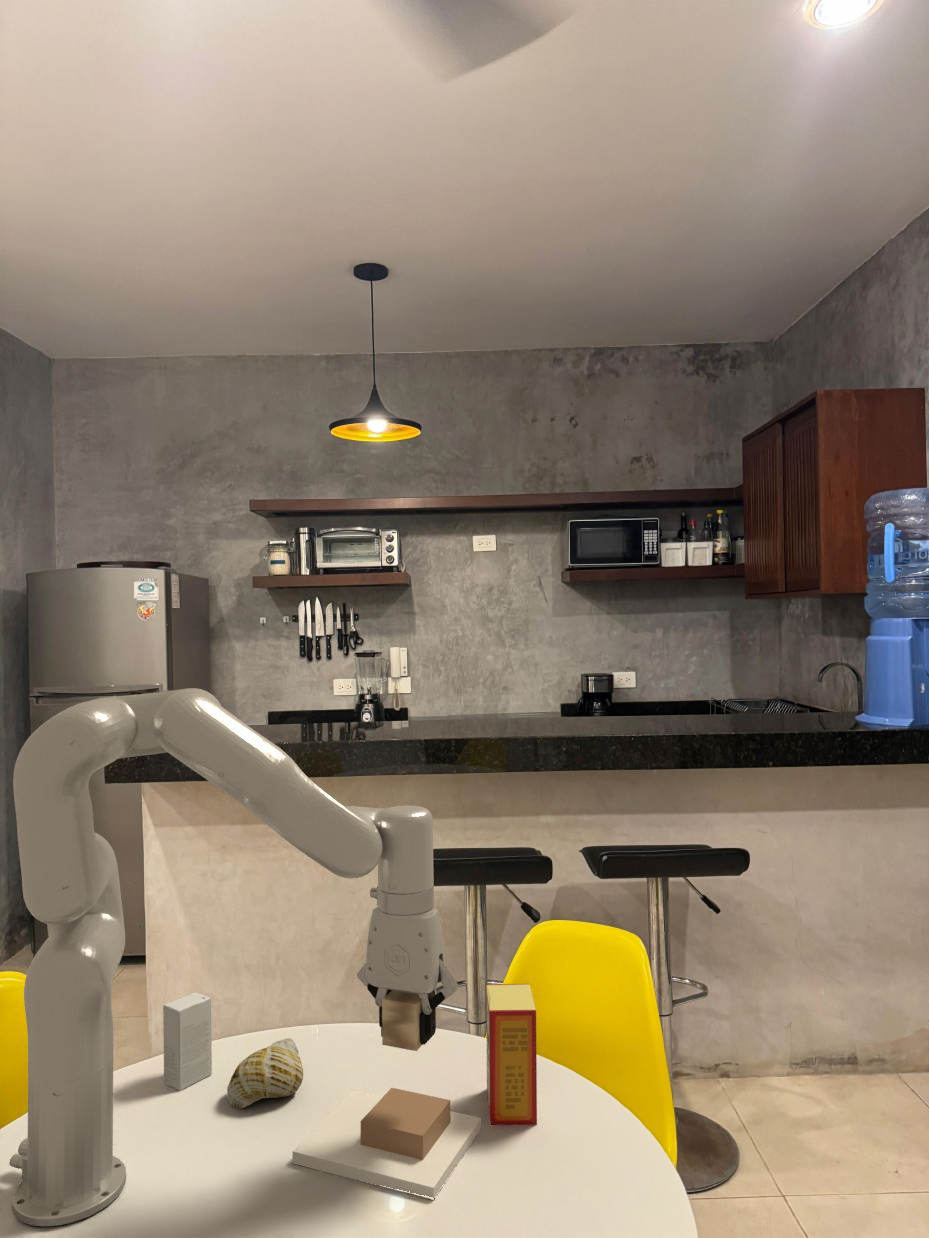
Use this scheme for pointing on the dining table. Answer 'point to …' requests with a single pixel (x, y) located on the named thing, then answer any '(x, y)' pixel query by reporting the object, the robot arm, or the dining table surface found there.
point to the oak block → (401, 1020)
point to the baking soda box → (511, 1054)
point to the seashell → (266, 1074)
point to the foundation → (390, 1140)
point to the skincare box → (187, 1040)
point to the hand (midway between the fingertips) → (407, 1034)
